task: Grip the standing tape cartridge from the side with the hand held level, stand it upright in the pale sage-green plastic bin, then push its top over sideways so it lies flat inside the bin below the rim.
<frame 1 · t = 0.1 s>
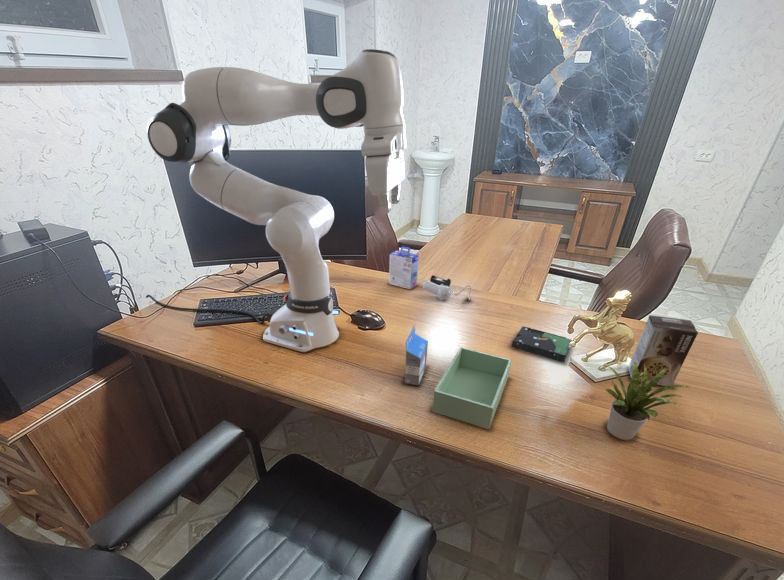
hand: (391, 207, 92), 39 cm above the table, tool pointing down, fingers open, 8 cm apart
tape cartridge: (415, 375, 102), on the table
house plant: (626, 435, 84), on the table
disk drive: (540, 348, 113), on the table
clip-on lamp: (448, 296, 142), on the table
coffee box: (648, 377, 101), on the table
ink cartridge box: (403, 285, 150), on the table
bin: (471, 394, 95), on the table
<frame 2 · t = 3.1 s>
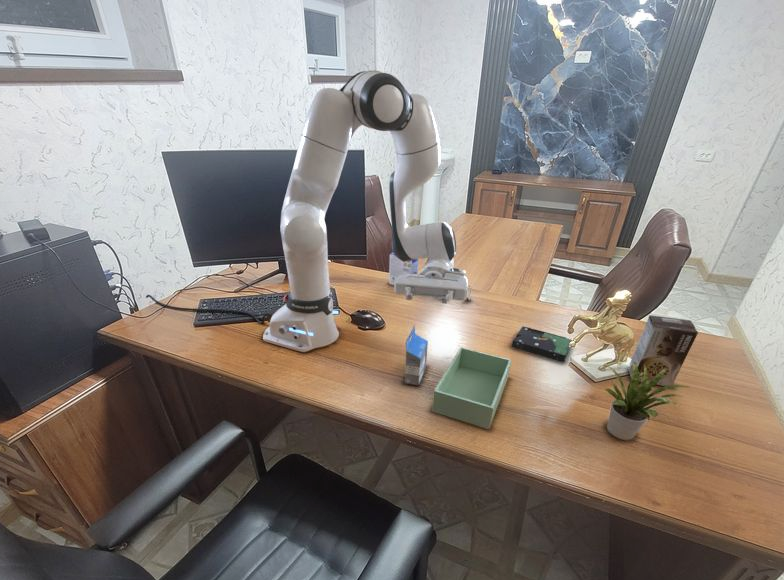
hand: (426, 299, 101), 17 cm above the table, tool horizontal, fingers open, 8 cm apart
nothing on the table moved.
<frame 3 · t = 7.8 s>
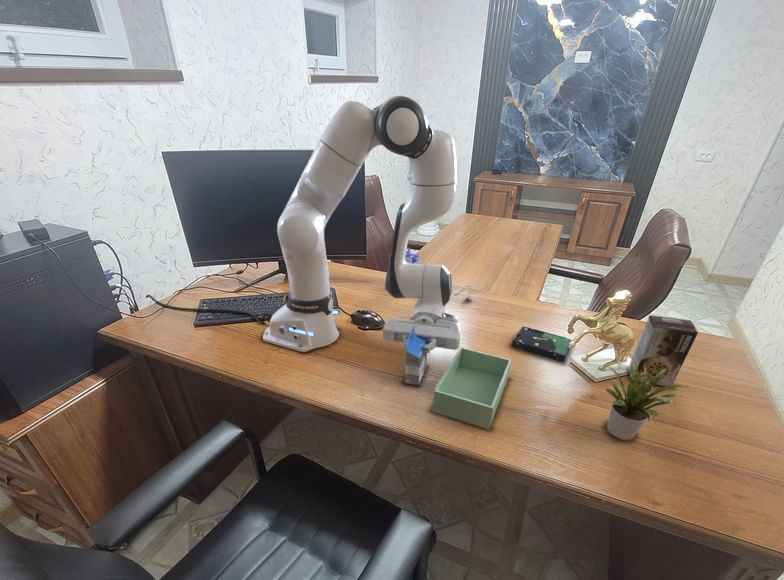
hand: (416, 349, 96), 9 cm above the table, tool horizontal, fingers closed on tape cartridge, 4 cm apart
tape cartridge: (415, 375, 102), on the table, touching gripper
everything else where it was.
when the fingers open (9 cm above the table, at t = 15.3 s): tape cartridge stays where it is, resting on bin.
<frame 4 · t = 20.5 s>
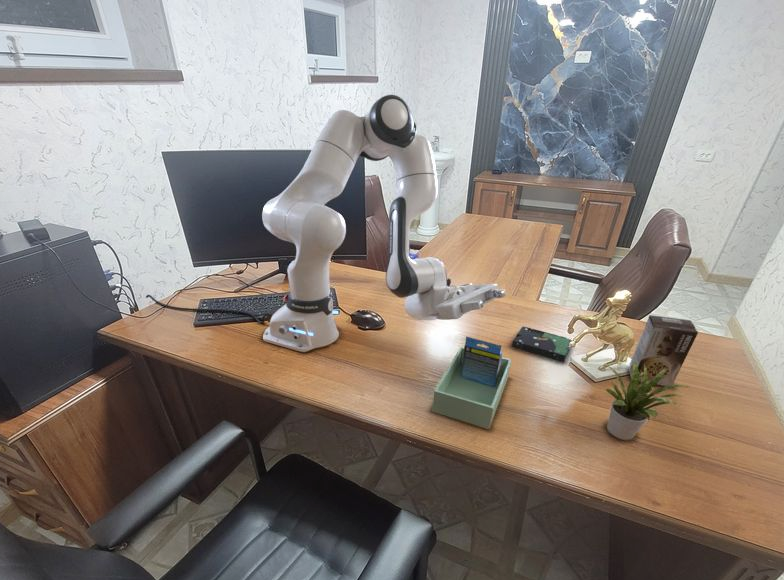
hand: (492, 298, 95), 19 cm above the table, tool pointing upward, fingers open, 8 cm apart
tape cartridge: (478, 379, 99), resting on bin
everything else where it was.
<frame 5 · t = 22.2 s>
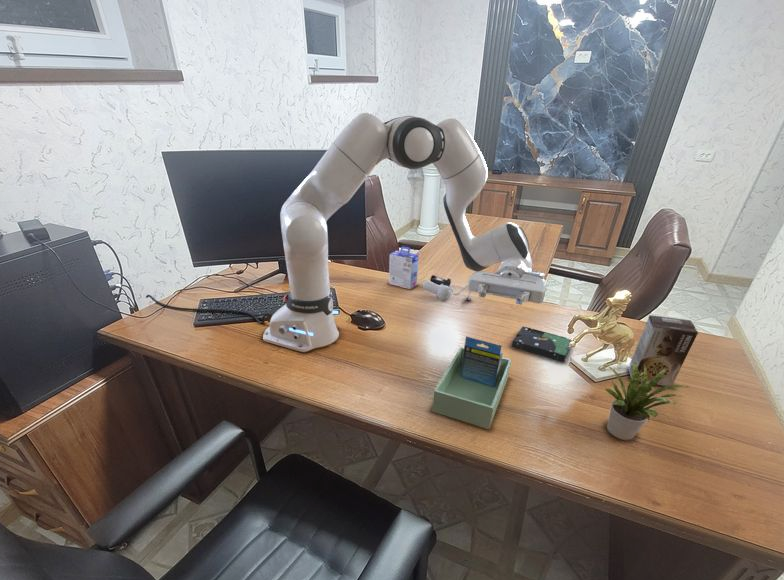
hand: (500, 298, 99), 18 cm above the table, tool horizontal, fingers open, 8 cm apart
nothing on the table moved.
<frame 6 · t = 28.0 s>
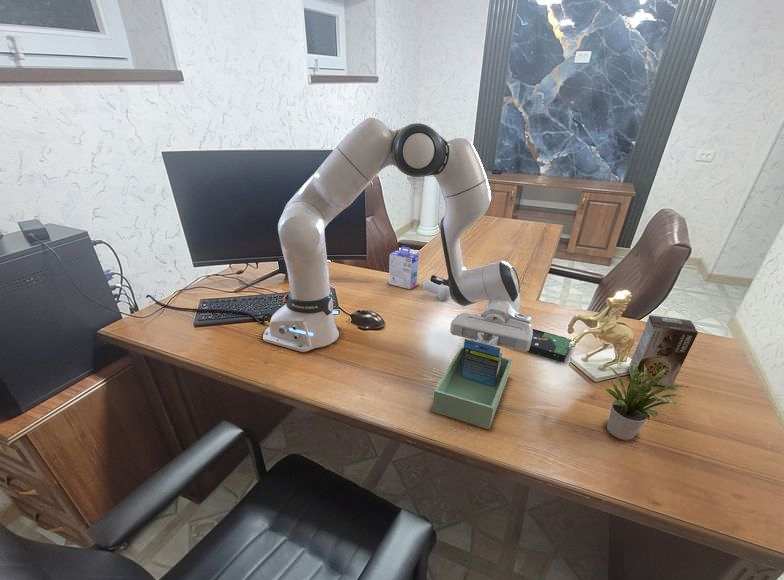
hand: (483, 346, 94), 11 cm above the table, tool horizontal, fingers closed, pressing on tape cartridge
tape cartridge: (478, 378, 99), point 1 cm above the table, touching bin, gripper
everything else where it was.
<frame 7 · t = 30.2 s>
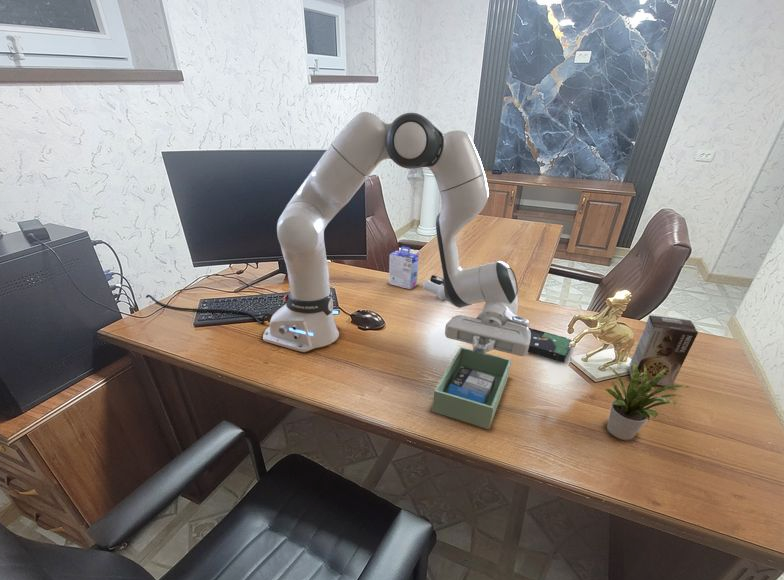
hand: (479, 350, 89), 12 cm above the table, tool horizontal, fingers closed
tape cartridge: (477, 376, 97), point 2 cm above the table, touching bin
everything else where it was.
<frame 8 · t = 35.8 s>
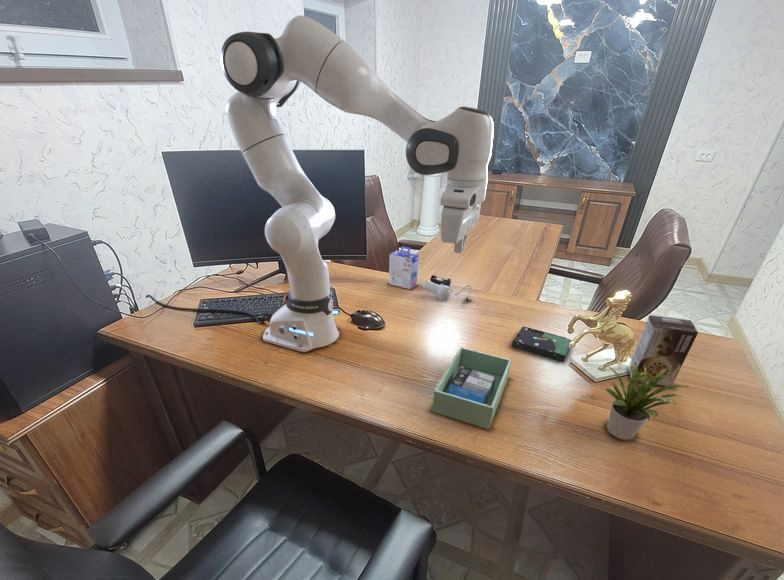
hand: (459, 251, 96), 29 cm above the table, tool pointing down, fingers closed
nothing on the table moved.
at the end: tape cartridge inside the target area in the bin (4.4 cm from its centre), point 2.5 cm above the bin's base; tape cartridge tilted 90° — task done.
